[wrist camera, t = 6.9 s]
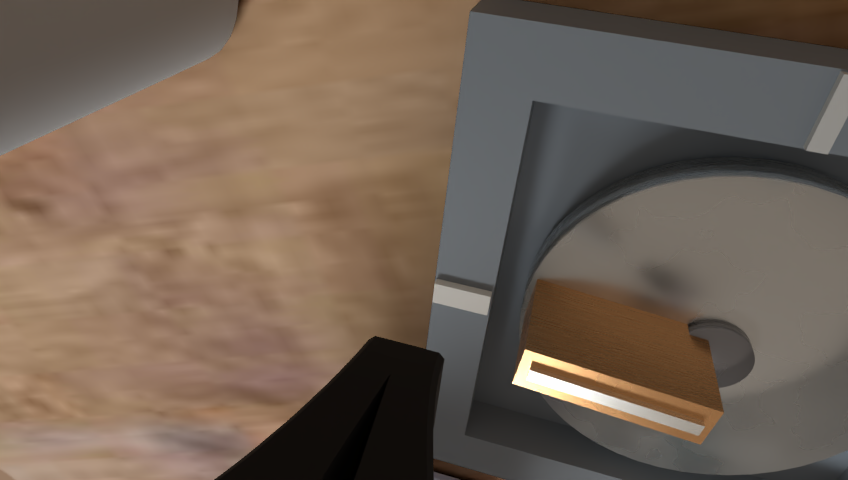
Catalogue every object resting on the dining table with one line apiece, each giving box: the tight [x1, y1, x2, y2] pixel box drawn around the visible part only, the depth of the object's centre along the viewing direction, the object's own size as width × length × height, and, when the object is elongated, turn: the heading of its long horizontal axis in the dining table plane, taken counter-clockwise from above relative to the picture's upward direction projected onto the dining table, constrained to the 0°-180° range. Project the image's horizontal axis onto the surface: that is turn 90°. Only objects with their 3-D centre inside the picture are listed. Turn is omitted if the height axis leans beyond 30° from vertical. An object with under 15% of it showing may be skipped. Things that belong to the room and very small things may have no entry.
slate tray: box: [426, 0, 848, 480], centre depth 19 cm, size 18×18×3 cm
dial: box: [512, 157, 848, 475], centre depth 17 cm, size 12×12×5 cm
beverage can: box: [0, 0, 239, 156], centre depth 14 cm, size 5×5×12 cm
